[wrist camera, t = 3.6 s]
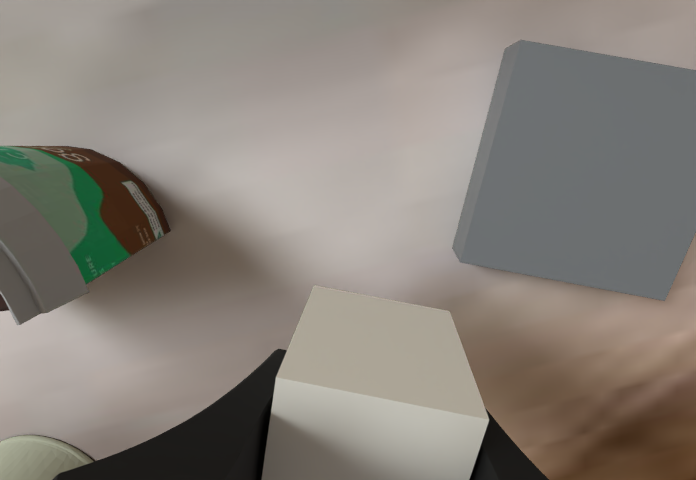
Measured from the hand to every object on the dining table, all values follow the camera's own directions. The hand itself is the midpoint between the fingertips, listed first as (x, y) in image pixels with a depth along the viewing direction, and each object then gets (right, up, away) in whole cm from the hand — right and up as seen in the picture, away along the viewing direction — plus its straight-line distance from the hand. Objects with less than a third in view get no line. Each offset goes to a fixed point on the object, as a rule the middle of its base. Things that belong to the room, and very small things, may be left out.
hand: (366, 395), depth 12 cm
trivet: (+10, +8, +6) cm, 14 cm away
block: (0, +1, +2) cm, 2 cm away
